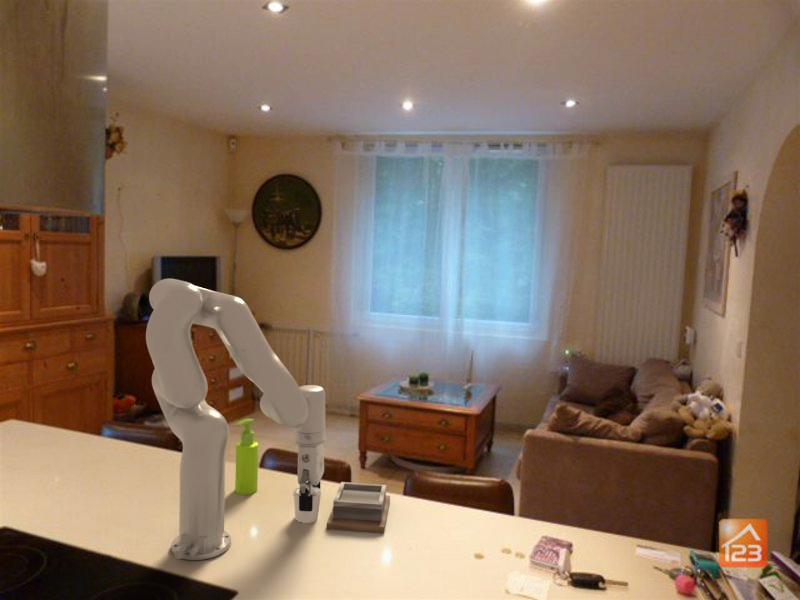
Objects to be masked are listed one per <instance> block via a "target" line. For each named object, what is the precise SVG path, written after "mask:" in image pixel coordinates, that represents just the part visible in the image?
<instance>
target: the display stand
mask: <svg viewBox="0 0 800 600" xmlns="http://www.w3.org/2000/svg"><path fill="white" fill-rule="evenodd" d="M386 493H387V484H380V483H379V484H377V483H366V482H365V483H363V482H349V481H348V482H347V481H341V482H340V485H339V487H338V489H337V492H336V494H335V497H334V499H333V506H332V508H331V511H330V514H329V516H328V518H327V521H326V530H332V531H334V530H335V531H336V530H337V531H349V532H364V533H375V534H377V533H378V534H385V529H386V524H387V520H388V519H387V518H388V514H389V507H390V503H391V495H387V494H386Z"/></svg>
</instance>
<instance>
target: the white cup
mask: <svg viewBox="0 0 800 600" xmlns="http://www.w3.org/2000/svg"><path fill="white" fill-rule="evenodd" d="M306 488H308V491H309V486H306ZM299 489H300V486H298V487H297V488H294V490H293V504H294V519H296V520H297V521H296V520H295V521H296V522H299V523H300V522H302V523H301V524H311V523H314V522H316V521H317V520H319V519H318V518H319V510H320V504H321V503H320V502H321V495H322V490H321V488H320V489H319V488H317V487H314V486H312V492H311V495H313V509H312V511H300V510H299Z"/></svg>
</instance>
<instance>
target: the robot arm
mask: <svg viewBox="0 0 800 600" xmlns="http://www.w3.org/2000/svg"><path fill="white" fill-rule="evenodd" d="M148 299H149V304H150V306H151V308H152V309H153V311H152V312H151V314H150V317H149V320H148V322H147V326H146V331H145V342H146V343H145V344H146V346H147V350H148V353H149V356H150V358H151V361H152V364H153V367H154V369H153V372H152V375H151V386H152V389H153V391H154V395H155V397H156V399H157V402H158V403H159V404H158V405H159V406H160V409H161V412H162V413H163V416H164V418H165V420H166V422H167V424H168V426H169V428H170V430H171V432H172V433H173V434H174V435H175V436H176V437H177V438H178V439H179V440H180V441H181V442H182V452H181V458H180V464H179V520H178V521H179V523H178V524H179V529H178V530H179V531H178V532H179V533H178V536H177V537H175V538H174V540H173V541H172V543H171V552H172V553H173V557H174V558H175V559H177V560H182V559H183V560H188V561H201V560H207V559H211V558H215V557H217V556H220V555H222V554H223V553H225V552H226V551H227V550H228V549H229V548H230V547H231V544H232V537H231V535H230V534H229V532H227V531H226V530H225V501H226V500H225V495H226V491H225V490H226V489H225V488H226V457H227V449H228V444H229V437H230V430H229V428H230V427H229V424H228V422H227V420H226V418H225V416H223V414H222V413H220V412H219V411H218V410H216V409H215V408H214V407H212V406H211V405H209V404H208V403H207V401H206V397H207V394H208V392H209V391H208V390H209V389H208V387H209V386H208V380H207V377H206V375H205V373H204V370H203V368H202V367H201V364H200V362H199V359H198V357H197V354H196V351H195V349H194V345H193V341H192V338H191V328H192V326H193V324H194V325H195V324H196V325H199V326H204V327H207V328H212V329H214V330H215V331H216V332H217V334H218V336H219V338H220V340H221V341H222V343H223V344H224V346H225V347H226V350H227V351H228V353H229V354H230V357H231V359H232V360H233V361H234V363H235V366H236V367H237V368H238V369H239V371H240V372H241V373H242V374H243V375H244V376H245V377H246V378H248V380H250V382H252V383H253V384H254V385H255V386H256V387H257V388H258V389H259V390H260V391H261V392H262V393H263V394H262V396H261V397H260V400H259V407H260V410H261V412H262V413H263V414H264V416H266V417H267V418H269V419H270V420H273V421H274V422H276V423H277V424H279V425H280V426H282V427H284V428H286V429H294V444H295V445H297V446H298V449H297V483H298V485H299V487H300V489H299V510H300V511H312V509H313V495H311V492H312V486H314V487H317V488H319V489H320V490H321V480H322V478H323V475H324V473H325V456H324V443H326V391H325V389H324V387H322V386H320V385H315V384H307V385H301V386H299V385H298V383H297V381H296V380H295V378H294V376H292V374H291V373H290V371H289V370H288V368H287V367H286V366H285V365H284V364H283V362H282V361H281V359H280V358H279V357H278V355H277V354H276V353H275V352H274V351H273V349H272V348H271V345H270V344H269V343H268V340H267V339H266V337H265V335H264V334H263V333H264V332H262V330H261V328H260V325H259V324H258V323H257V320H256V319H255V317H254V315H253V313H252V311H251V309H250V307H249V306H248V304H247V303H246V302H245V301H244V300H243V299H242V298H240V297H239V296H235V295H231V294H227V293H223V292H219V291H214V290H212V289H207V288H203V287H200V286H198V285H194V283H193V284H192V283H191V282H188V281H186V280H185V281H184V280H180V279H175V278H163V279H161V280H159V281H156V283H155V284H154V285H153V286H152V287H151V289H150V291H149V295H148ZM306 486H309V491H308V488H306Z"/></svg>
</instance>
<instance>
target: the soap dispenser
mask: <svg viewBox="0 0 800 600" xmlns="http://www.w3.org/2000/svg"><path fill="white" fill-rule="evenodd" d="M254 421H255V419H254V418H253V419H252V418H245V419H241V420H239V421H237V422H236V423H235V424H234V425H235V426H237V427H242V426H244V429H243V430H242V431H241V432H240V441H239V442H237V443H236V444H235V483H234V484H235V486H234V490H235V493H236V494H238V495H243V496H246V495H252V494H255V493H257V492H258V477H259V475H258V474H259V473H258V472H259V470H258V469H259V464H258V463H259V443H258V442H257V441H255V440H254V439H255V435H254V434H255V431H254V430H252V423H253V422H254Z"/></svg>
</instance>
